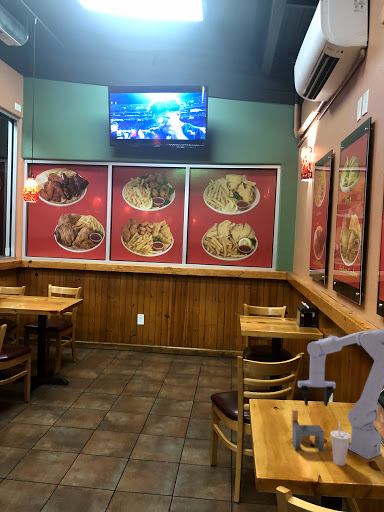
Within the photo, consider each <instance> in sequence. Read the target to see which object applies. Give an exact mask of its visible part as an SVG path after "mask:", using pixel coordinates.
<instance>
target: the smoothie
mask: <svg viewBox="0 0 384 512" xmlns="http://www.w3.org/2000/svg"><path fill="white" fill-rule="evenodd" d="M329 436H330V438H331V447H332V450H331V451H332V459H333V463H334V464H335V466H336V465H337V466H345V465H346V462H347V457H348V455H347V454H348V450H349V449H348V445H349V443H350V442H351V434H349V433H347V432H345V431H344V430H341V421H338V429H337V430H336V429H335V430H331V431H330V435H329Z"/></svg>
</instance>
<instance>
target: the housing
mask: <svg viewBox="0 0 384 512" xmlns="http://www.w3.org/2000/svg"><path fill="white" fill-rule="evenodd" d="M291 425H292V424H291ZM291 433H292V434H291V445H292V447H293V449H294V451H299V452H300V451H301V443H302V442H301V435H302V436H310V437H312V436H313V437H314V438H313V439H314V441H313V442H314V443H313V444H314V446H315V447H316V449H317V451H318V452H324V446H325V443H324V442H325V431H324V429H323V428H322V427H321V425H319V424H318V425H317V424H316V425H315V424H313V425H311V424H308V425H307V424H299V425H292V431H291Z"/></svg>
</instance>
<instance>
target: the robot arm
mask: <svg viewBox="0 0 384 512" xmlns="http://www.w3.org/2000/svg"><path fill="white" fill-rule="evenodd" d="M353 344H357V345H358V346H362V348H363V349H364V350H365V352H366V353H368V354H369V356H370V357H371V358H372V359H373V361H374V362H373V364H372V366H371V370H370V371H369V375H368V377H367V379H366V381H365V385H364V386H363V390H362V392H361V394H360V398H359V399H358V400H357V401H356V402H355V404H354V405H353V407H352V408H351V409H350V410H349V411H348V413H347V419H348V421H349V424H350V426H351V429H350V430H351V432H350V444H349V445H348V450H350V451H352V453H355V454H357V455H358V456H361V457H362V458H364V459H366V460H369V459H372V458H375V457H377V456H378V457H379V456H381V455H382V451H381V448H382V444H381V443H382V435H381V433H380V432H378V431H377V430H376V429H375V427H374V425H375V422H376V421H377V420H378V418H379V417H378V416H379V414H378V413H379V412H378V410H379V405H378V404H377V403H378V400H379V397H380V396H381V393H382V390H383V387H384V328H377V329H370V330H364V331H359V332H354V333H351V334H347V335H345V336H341V337H339V336H336V335H332V334H330V335H328V336H327V337H325V338H319V339H318V340H316V341H311V342H309V343H308V344H307V347H306V350H307V353H308V355H309V377H308V378H309V379H307V380H297V387H298V388H300V390H301V394H302V397H303V401H304V405H305V406H306V407H308V406H309V394H310V393H309V392H310V391H309V388H323V405H324V406H325V407H328V404H329V401H330V398H331V396H332V395H333V393H334V391H335V390H334V389H336V387H337V386H336V384H337V383H336V382H335V381H327V380H325V374H326V373H325V372H326V371H325V366H326V359H327V358H326V357H327V355H328V354H332V353H335V352H336V353H337V352H340V351H341V350H342V348H343V347H344V346H348V345H353Z"/></svg>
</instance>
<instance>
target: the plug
mask: <svg viewBox="0 0 384 512" xmlns="http://www.w3.org/2000/svg"><path fill="white" fill-rule="evenodd" d="M298 418H299V409H298V408H292V409H291V425H300V423H299V419H298ZM310 442H311V436H302V435H301V443H310Z"/></svg>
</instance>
